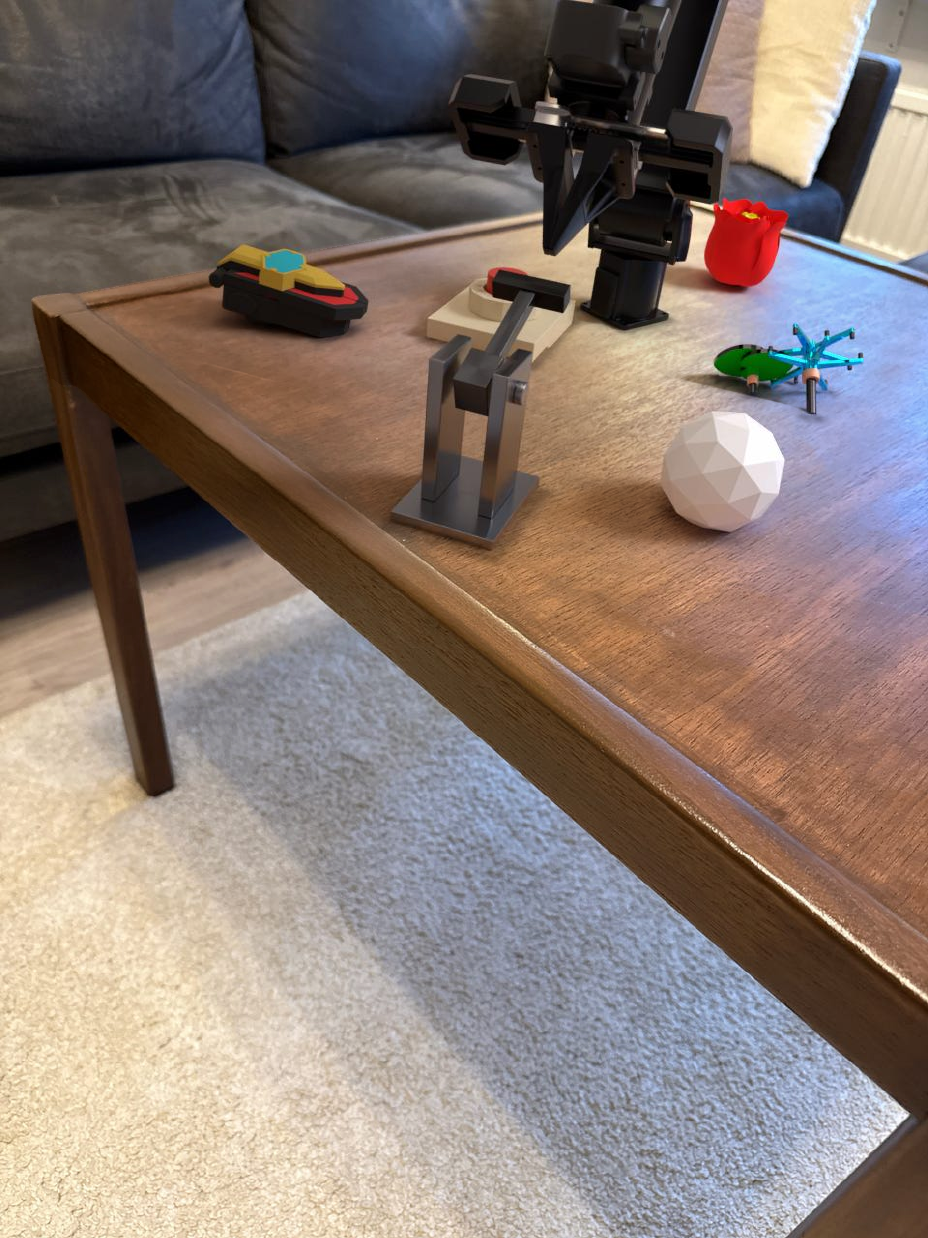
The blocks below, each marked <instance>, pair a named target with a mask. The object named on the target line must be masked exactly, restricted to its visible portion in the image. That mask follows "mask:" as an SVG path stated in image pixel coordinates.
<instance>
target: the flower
mask: <svg viewBox="0 0 928 1238" xmlns="http://www.w3.org/2000/svg"><path fill="white" fill-rule="evenodd" d="M712 208H713V214H714V223H713V225H712V228H711V229H710V232H709V234H708V236H707V240H706V243H705V247H704V252H703V260H704V261H703V262H704V264H705V267H706V269H707V271H708V272H709V274H710V275H711V276H712V277H713V278H714V279H715V280H716V281H717V282H719V283H721V284H726V285H731V286H740V287H745V288H746V287H747V288H749V287H755V286H757V285H759V284H761V283H762V282H763V281H764V280H765V279H766V278H767V277H768V276H769V274H770V273H771V272H772V270H773V268H774V265H775V263H776V259H777V256H778V254H779V250H780V246H781V245H780V244H781V233H782V231H783V229H784V228H785V226H786V225H787V220H788V218H789V213H788V212H786V211H785V210H780V209H779V210H776V209H775V210H774V209H770V208H769V207H768V206H767V205H766V203H765V202H763V201H756V202H755V203H753V202H752V201H751V200H750V199H747V198H742V199H736V200H733V201H728V200H727V199H726V197H723V199H722V208H721V207H720V204H719V203H718V202H716V203H713V207H712Z"/></svg>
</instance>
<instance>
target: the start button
mask: <svg viewBox="0 0 928 1238" xmlns="http://www.w3.org/2000/svg"><path fill="white" fill-rule="evenodd" d="M499 269H501V270H506V271H510V272H515V273H519V274H524V275H528V273H526V272H525V271H523V270H521V269H519V268H514V267H510V266H509V267H507V266H499V267H493V268H491V269H489V270H488V272H487V277H488V278H487V277H486V278H487V288H486V292H488V293H489V294H491V295H492V280H493V278H494V277H495V275H496V273H497V272H498V270H499Z"/></svg>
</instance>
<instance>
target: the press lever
mask: <svg viewBox="0 0 928 1238" xmlns="http://www.w3.org/2000/svg"><path fill="white" fill-rule="evenodd" d="M571 285H572V284H569V283H564V282H559V281H556V280H551V279H546V278H541V277H537V276H532V275H529V274H527V275H524V274H519V273H515V272H510V271H506V270H501V269H499V270H498V272H497V273H496V275H495V277H494V278H493V280H492V297H493V298H497V299H502V300H506V301H510V302H513V303H512V304H511V306H510V308H509V309H508V311H507V313H506V315H505V316H504V318H503V320H502V322H501V323H500V325H499V327H498V329H497V330H496V332H495V334H494V335H493V337H492V339H491V341H490V342H489V344H488V346H487V348H486V349H485V351H482V350H478V349H474V348H471V349H470V351H469V353H468V354H467V356H466V358H465V359H464V361H463V363H462V364H461V366H460V368H459V370H458V371H457V373H456V375H455V376H454V378H453V386H454V398H455V408H457V409H461V410H465V412H469V413H472V414H477V415H481V416H484V417H488V413H489V403H490V394H491V384H492V375H493V373H494V372H495V371H496V370H497V369H498V368H499V367H500V366H501V365H502V364H503V363H504V362H505V361H506V359H507V355H508V353H509V351H510V349H511V347H512V346H513V344H514V342H515V340H516V339H517V337H518V335H519V333H520V331H521V330H522V328H523V326H524V324H525V322H526V321H527V319H528V317H529V315H530V313H531V312H532V310H533V308H534V307H537V308H541V309H546V310H550V311H554V312H559V313H564V312H565V310H566V308H567V306H568V304H569V302H570V300H571V287H572V286H571Z"/></svg>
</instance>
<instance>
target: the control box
mask: <svg viewBox="0 0 928 1238" xmlns="http://www.w3.org/2000/svg"><path fill="white" fill-rule="evenodd" d="M487 278H488V276H487V277H482V278H477V279H475V280H474V281H473V282H471V283H470V284H469V285H468V286H467V287H466V288H464V289H463V290H462V291H460V292H459V293H458V294H456V295H455V296H454V297H453V298H451V299H449V301H448V302H446V303H445V304H443V305H442V306H441V307H440V308H438V309H437V310H436V311H435V312H433V313H432V314H431V315H429V317H427V319H426V320H427V323H426V335H425V336H426V338H428V339H429V338H430V339H434V340H438V341H443V342H446V343H448V342H449V341H450V340H451V339H452V338H454V337H455V336H456V335H457V334H460V335H465V336H469V337H472V342H471V349H473V350H478V351H482V352H484V351H485V349H486V348H487V346H488V344H489V342H490V341H491V339H492V337H493V335H494V334H495V332H496V330H497V329H498V327H499V325H500V323H501V322H502V320H503V318H504V316H505V315H506V313H507V311H508V309H509V308H510V306H511V304H512V303H513V302H510V301H506V300H502V299H497V298H493V297H492V295H491V294H489V293H488V292H486V288H487ZM576 303H577V302H576V300H575V299H570V302H569V304H568V306H567V308H566V310H565V312H564V313H559V312H554V311H550V310H546V309H541V308H537V307H534V308H533V310H532V312H531V313H530V315H529V317H528V319H527V321H526V322H525V324H524V326H523V328H522V330H521V331H520V333H519V335H518V337H517V339H516V340H515V342H514V344H513V346H512V347H511V349H510V351H509V353H508V355H507V356H506V358H507V357H508V358H509V357H510V356H511V355H512V354H513V353H514V352H515V351H516V350H517V349H523V350H527V351H531V352H533V355H532V362H531V363H533V362H534V361H535V360H536V359H537V358H538V357H539V356H540V355H541V354H542V353H543V352H544V351H545V349H546V348H551V347H552V346H553V344H554V343H555V342H556V341H557V340H558V339H559V337H561V336H562V335H563V334H564V332H565V331H566V330H567V329H568V328H569V327H570V326H571V325H572V324H573V321H574V320H573V319H574V314H575V307H576Z"/></svg>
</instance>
